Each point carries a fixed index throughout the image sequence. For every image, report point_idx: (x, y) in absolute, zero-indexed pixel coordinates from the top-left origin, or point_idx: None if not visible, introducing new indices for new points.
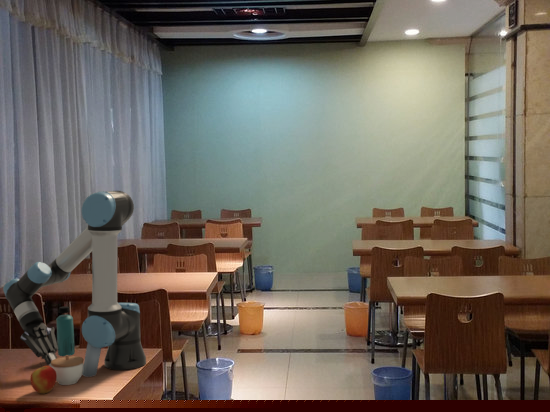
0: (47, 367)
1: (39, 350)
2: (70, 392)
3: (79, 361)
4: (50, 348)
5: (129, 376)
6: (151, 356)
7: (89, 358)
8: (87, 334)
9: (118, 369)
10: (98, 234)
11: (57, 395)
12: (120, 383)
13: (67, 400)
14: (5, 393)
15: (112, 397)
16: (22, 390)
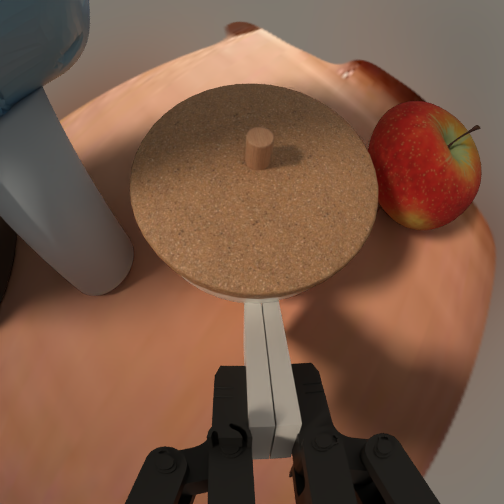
0: (434, 119)
1: (395, 463)
2: None
3: (226, 86)
4: (246, 481)
5: (68, 122)
6: None
7: (84, 170)
8: None
9: None
10: None
11: (369, 133)
12: (144, 83)
13: (361, 84)
14: (485, 312)
15: (257, 31)
16: (443, 297)
